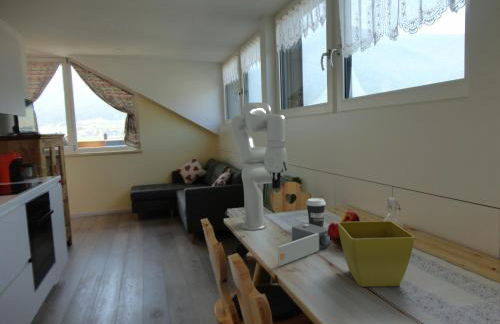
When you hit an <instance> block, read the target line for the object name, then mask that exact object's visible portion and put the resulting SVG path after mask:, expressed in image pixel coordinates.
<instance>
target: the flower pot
mask: <svg viewBox="0 0 500 324" xmlns="http://www.w3.org/2000/svg"><path fill="white" fill-rule="evenodd" d="M337 229H338V234H339V239H340V244H341V248H342V252H343V255H344V259H345V263H346V265H347V268H348V270H349V272H350V274H351V276H352V278H353V279H354V280H355V283H356V284H357V285H358V286H359V287H362V288H363V287H364V288H365V287H399V286H400V285H401V282H402V281H403V279H404V277H405V273H406V271H407V270H408V266H409V263H410V260H411V256H412V252H413V247H414V242H415V236H414V235H413V234H412V233H410V232H408V231H407V230H405V229H404V228H402V227H401V226H399V225H398V224H396V222H393V220H374V221H373V220H372V221H371V220H370V221H369V220H366V221H339V222H337Z"/></svg>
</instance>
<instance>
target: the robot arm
mask: <svg viewBox="0 0 500 324" xmlns="http://www.w3.org/2000/svg"><path fill="white" fill-rule="evenodd" d="M230 125H231V127H230V128H231V131H232V135H233V137H234V138H235V140H236V143H237V147H238V150H239V156H240V160H241V163H242V164H243V165H244V166H245V167H244V168H243V169H242V170H241V180H242V184H243V197H244V199H243V201H244V204H243V205H244V217H242V218H241V220H242V221H243V222H244V223H242V225H241V227H242V228H243V229H245V230H247V231H248V230H249V231H259V230H263V229H266V228H267V226H268V225H267V223H266V222H264V198H263V197H264V195H263V190H262V189H261V188H260V187H259V186H258V185H264V184H271V185H272V187H271V188H272V189H275V190H277V189H280V188H281V179H282V177H283V176H286V175H287V174H286V173H287V171H288V156H287V150H286V117H285V116H284V115H283V114H277V113H276V114H275V113H273V114H272V110H271V106H270V105H269V103H267V102H247V103H245V104H244V105H243V106H242V108H241V114H237V115H234V116H233V117H232V118H231V122H230ZM247 131H251V132H253V133H264V132H265V133H266V146H256V145H255V141H254V139H253V137H252V136H251V135H250V134H249V132H247Z"/></svg>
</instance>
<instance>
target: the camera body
mask: <svg viewBox="0 0 500 324" xmlns="http://www.w3.org/2000/svg"><path fill="white" fill-rule="evenodd" d="M328 229H329V228H327V227H324V226H323V227H320V226H316V225H312V224H309V222H304V223H301V224H297V225H293V226H291V236H292V238H291V240H292V241H291V242H293V241H296V240H298V239H301V238H304V237H307V236H310V235H313V234H316V233H318V234H319V251H320V250H323V249H325V248H327V247H330V246H331V245H332V239H331V240H330V236H329V235H328Z"/></svg>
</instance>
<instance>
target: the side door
mask: <svg viewBox="0 0 500 324" xmlns="http://www.w3.org/2000/svg"><path fill="white" fill-rule="evenodd" d="M316 252H320V250H319V234H318V233H316V234H313V235H310V236H307V237H304V238H301V239H298V240H296V241H293V242H292V241H290V242H287V243H284V244H281V245H278V246H277V266H279V267H280V266H283V265H285V264H289V263H291V262H294V261H296V260H299V259H301V258H304V257H306V256H309V255H312V254H314V253H316Z"/></svg>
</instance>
